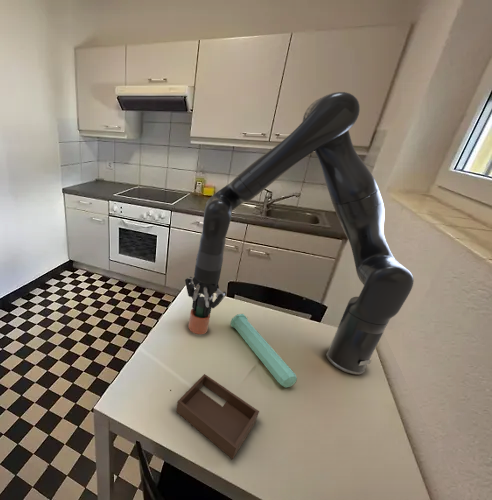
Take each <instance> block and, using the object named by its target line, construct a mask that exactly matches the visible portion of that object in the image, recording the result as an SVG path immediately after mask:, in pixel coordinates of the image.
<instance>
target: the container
mask: <svg viewBox="0 0 492 500" xmlns="http://www.w3.org/2000/svg"><path fill="white" fill-rule="evenodd" d="M230 320H231V321H230V326H231V328H233V329H235V330H236V331H237V333H238V334H239V335H240V337H242V339H243V340H244V342H245V343H246V344H247V345H248V346H249V348H250V349H251V351H252V352H253V353H254V354H255V355H256V356H257V358H258V359H259V360H260V362H261V363H262V364H263V365H264V366H265V368H266V369H267V370H268V371H269V373H270V374H271V375H272V377H273V378H274V379H275V380H276V382H277V383H278V384H279V385H280V386H281V387H284V388H291V387H292V386H294V385H295V384H296V382H297V380H298V377H297V374H296V373H295V372H294V371H293V370H292V369H291V367H290V366H289V365H288V364H287V363H286V362H285V361H284V360H283V359H282V357H281V356H280V355H279V354H278V353H277V351H275V349H273V347H272V346H271V345H270V344H269V343H268V342H267V341H266V340H265V338H264V337H263V336H262V335H261V334H260V333H259V332H258V330H256V328H255V327H254V325H252V324H251V322H249V319H248V317H247V316H246V315H245V314H244V313H239V314H236V315H235V316H233V317H232V318H231V319H230Z"/></svg>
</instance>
